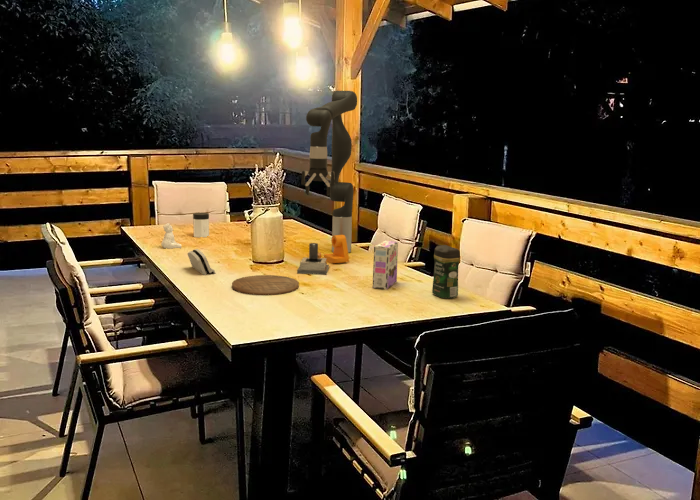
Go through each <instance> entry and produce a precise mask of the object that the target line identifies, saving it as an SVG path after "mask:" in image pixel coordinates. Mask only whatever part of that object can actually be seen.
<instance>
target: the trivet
mask: <svg viewBox="0 0 700 500" xmlns="http://www.w3.org/2000/svg"><path fill="white" fill-rule="evenodd" d="M299 286H300V282H299V281H298V280H297V279H295V278H292V277H289V276H285V275H273V274H272V275H271V274H263V275H261V274H260V275H257V274H256V275H249V276H243V277H239V278H236V279H235V280H232V283H231V288H232V290H233V291H235V292H237V293H241V294H245V295H250V296H251V295H253V296H279V295H285V294H289V293H293V292H295V291H297V290H298V289H299Z"/></svg>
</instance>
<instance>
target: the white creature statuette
mask: <svg viewBox="0 0 700 500" xmlns="http://www.w3.org/2000/svg"><path fill="white" fill-rule="evenodd" d="M163 231H164V232H165V233H164V235H163V238H162V241H161V243H160V244H161V247H162V248H164V249H166V248H167V249H171V250H173V248H180V249H182V244H181V243H179V242H177V241H176V240H175V235H174V232H173V231H174V229H173V226H172V225H171V223H169V222H167V223H165V224H163Z"/></svg>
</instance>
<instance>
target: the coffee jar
mask: <svg viewBox="0 0 700 500" xmlns="http://www.w3.org/2000/svg"><path fill="white" fill-rule="evenodd" d="M433 260H434V268H433V278H432V289H431V291H432V294H433V295H435V296H437V297H439V298H441V299H448V300H449V299H454V298H457V297H458V296H459V264H460V261H461V250H459V249H458V248H455V247H452V246H450V245H447V244H442V245H441V244H440V245H436V247H435V248H434V253H433Z"/></svg>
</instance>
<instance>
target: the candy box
mask: <svg viewBox="0 0 700 500" xmlns="http://www.w3.org/2000/svg"><path fill="white" fill-rule="evenodd" d="M398 247H399V242H398V241H393V240H383V241H382V242H380V243H378V244H376V245H374V246H373V266H372V267H373V268H372V269H373V270H372V288H373V289H381V290H388V289H389V288H390V287H392V286H393V285H395V284H396V283H397V280H398V278H397V277H398V275H397V274H398V254H399V253H398V251H399V248H398Z"/></svg>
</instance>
